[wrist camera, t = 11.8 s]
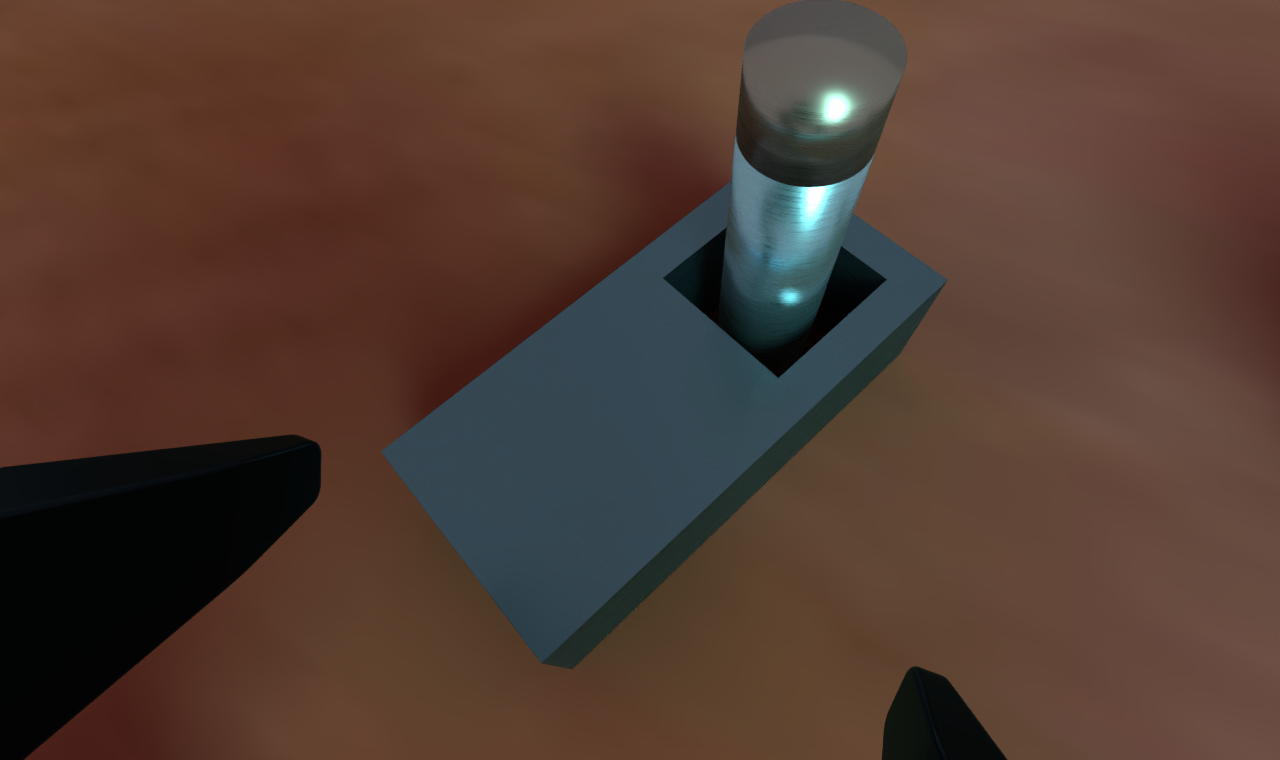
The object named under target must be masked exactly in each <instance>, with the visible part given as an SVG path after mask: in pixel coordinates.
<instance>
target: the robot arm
mask: <svg viewBox="0 0 1280 760" xmlns="http://www.w3.org/2000/svg"><path fill="white" fill-rule="evenodd" d="M320 487H321V449H320V446H319V445H318V444H317V443H316V442H315V441H312V440H309V439H307V438H304V437H301V436H298V435H284V436H275V437H266V438H257V439H248V440H239V441H231V442H222V443H213V444H204V445H195V446H186V447H178V448H169V449H160V450H151V451H142V452H133V453H124V454H116V455H107V456H98V457H89V458H80V459H71V460H63V461H54V462H45V463H36V464H27V465H18V466H10V467H2V468H0V760H24V759H25V758H26V757H27V756H29V755H30V754H31V753H32V752H33V751H35V750H36V749H37V748H38V747H39V746H40V745H42V744H43V743H44V742H45V741H46V740H48V739H49V738H50V737H51V736H52V735H53V734H55V733H56V732H57V731H58V730H59V729H61V728H62V727H63V726H64V725H65V724H67V723H68V722H69V721H70V720H71V719H72V718H74V717H75V716H76V715H77V714H78V713H80V712H81V711H82V710H83V709H84V708H85V707H87V706H88V705H89V704H90V703H91V702H93V701H94V700H95V699H96V698H97V697H99V696H100V695H101V694H102V693H103V692H104V691H106V690H107V689H108V688H109V687H110V686H112V685H113V684H114V683H115V682H116V681H117V680H119V679H120V678H121V677H122V676H123V675H125V674H126V673H127V672H128V671H129V670H131V669H132V668H133V667H134V666H135V665H136V664H138V663H139V662H140V661H141V660H142V659H144V658H145V657H146V656H147V655H148V654H149V653H151V652H152V651H153V650H154V649H155V648H157V647H158V646H159V645H160V644H161V643H163V642H164V641H165V640H166V639H167V638H168V637H170V636H171V635H172V634H173V633H174V632H176V631H177V630H178V629H179V628H180V627H181V626H183V625H184V624H185V623H186V622H187V621H189V620H190V619H191V618H192V617H193V616H195V615H196V614H197V613H198V612H199V611H200V610H202V609H203V608H204V607H205V606H206V605H208V604H209V603H210V602H211V601H212V600H214V599H215V598H216V597H217V596H218V595H219V594H221V593H222V592H223V591H224V590H225V589H227V588H228V587H229V586H230V585H231V584H232V583H233V582H235V581H236V580H237V579H238V578H239V577H240V576H241V575H242V574H243V573H245V572H246V571H247V570H248V569H249V568H250V567H251V566H252V565H253V564H254V563H255V562H256V561H257V560H258V559H259V558H260V557H261V556H262V555H263V554H264V553H265V552H266V551H267V550H268V549H269V548H270V547H271V546H272V545H273V544H274V543H275V542H276V541H277V540H278V539H279V538H280V537H281V536H282V535H283V534H284V533H285V532H286V531H287V530H288V529H289V528H290V527H291V526H292V525H293V524H294V523H295V522H296V521H297V520H298V519H299V517H300V516H301V515H302V514H303V513H304V512H305V511H306V510H307V509H308V508H309V507H310V506H311V505H312V504H313V503H314V502H315V500H316V499H317V497H318V495H319V492H320ZM882 760H1007V758H1006V757H1005V756H1004V754H1003V753H1002V752H1001V750H1000V749H999V748H998V746H997V745H996V744H995V742H994V741H993V740H992V738H991V737H990V736H989V734H988V733H987V731H986V730H985V729H984V727H983V726H982V725H981V723H980V722H979V721H978V719H977V718H976V717H975V715H974V714H973V713H972V711H971V710H970V709H969V707H968V706H967V705H966V703H965V702H964V700H963V699H962V698H961V696H960V695H959V694H958V692H957V691H956V690H955V688H954V687H953V686H952V684H951V683H950V682H949V681H948V680H947V678H945V677H944V676H942V675H939V674H936V673H934V672H931V671H928V670H926V669H923V668H920V667H917V666H914V667H911V668H910V669H909V670H908V671H907V673H906V675H905V677H904V679H903V681H902V683H901V685H900V687H899V690H898V692H897V694H896V696H895V698H894V700H893V702H892V705H891V707H890V709H889V711H888V714H887V717H886V721H885V726H884V735H883V750H882Z"/></svg>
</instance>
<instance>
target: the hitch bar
mask: <svg viewBox="0 0 1280 760" xmlns="http://www.w3.org/2000/svg"><path fill="white" fill-rule="evenodd" d="M730 188H731V182H729V183H728V184H727V185H725V186H724V187H723V188H721V189H720V190H719V191H718V192H716V193H715V194H714V195H712V196H711V197H710V198H709V199H707V200H706V201H705V202H703V203H702V204H701V205H699V206H698V207H697V208H696V209H694V210H693V211H692V212H690V213H689V214H688V215H687V216H685V217H684V218H683V219H681V220H680V221H679V222H677V223H676V224H675V225H674V226H672V227H671V228H670V229H668V230H667V231H666V232H664V233H663V234H662V235H661V236H659V237H658V238H657V239H655V240H654V241H653V242H652V243H650V244H649V245H648V246H646V247H645V248H644V249H642V250H641V251H640V252H639V253H637V254H636V255H635V256H633V257H632V258H631V259H630V260H628V261H627V262H626V263H624V264H623V265H622V266H620V267H619V268H618V269H617V270H615V271H614V272H613V273H611V274H610V275H609V276H608V277H606V278H605V279H604V280H602V281H601V282H600V283H598V284H597V285H596V286H595V287H593V288H592V289H591V290H589V291H588V292H587V293H586V294H584V295H583V296H582V297H580V298H579V299H578V300H576V301H575V302H574V303H573V304H571V305H570V306H569V307H567V308H566V309H565V310H563V311H562V312H561V313H560V314H558V315H557V316H556V317H554V318H553V319H552V320H551V321H549V322H548V323H547V324H545V325H544V326H543V327H541V328H540V329H539V330H538V331H536V332H535V333H534V334H532V335H531V336H530V337H529V338H527V339H526V340H525V341H523V342H522V343H521V344H519V345H518V346H517V347H516V348H514V349H513V350H512V351H510V352H509V353H508V354H507V355H505V356H504V357H503V358H501V359H500V360H499V361H497V362H496V363H495V364H494V365H492V366H491V367H490V368H488V369H487V370H486V371H485V372H483V373H482V374H481V375H479V376H478V377H477V378H475V379H474V380H473V381H472V382H470V383H469V384H468V385H466V386H465V387H464V388H463V389H461V390H460V391H459V392H457V393H456V394H455V395H453V396H452V397H451V398H450V399H448V400H447V401H446V402H444V403H443V404H442V405H440V406H439V407H438V408H437V409H435V410H434V411H433V412H431V413H430V414H429V415H428V416H426V417H425V418H424V419H422V420H421V421H420V422H418V423H417V424H416V425H415V426H413V427H412V428H411V429H409V430H408V431H407V432H406V433H404V434H403V435H402V436H400V437H399V438H398V439H396V440H395V441H394V442H393V443H391V444H390V445H389V446H387V447H386V448H385V449H384V450H382V451H381V452H382V454H383V455H384V456H385V458H386V459H387V460H388V462H389V463H390V464H391V466H392V467H393V468H394V470H395V471H396V472H397V474H398V475H399V476H400V478H401V479H402V480H403V481H404V483H405V484H406V485H407V487H408V488H409V489H410V491H411V492H412V493H413V495H414V496H415V497H416V499H417V500H418V501H419V503H420V504H421V505H422V506H423V508H424V509H425V510H426V512H427V513H428V514H429V516H430V517H431V518H432V520H433V521H434V522H435V524H436V525H437V526H438V528H439V529H440V530H441V532H442V533H443V534H444V535H445V537H446V538H447V539H448V541H449V542H450V543H451V545H452V546H453V547H454V549H455V550H456V551H457V553H458V554H459V555H460V557H461V558H462V559H463V561H464V562H465V563H466V564H467V566H468V567H469V568H470V570H471V571H472V572H473V574H474V575H475V576H476V578H477V579H478V580H479V582H480V583H481V584H482V586H483V587H484V588H485V589H486V591H487V592H488V593H489V595H490V596H491V597H492V599H493V600H494V601H495V603H496V604H497V605H498V607H499V608H500V609H501V611H502V612H503V613H504V615H505V616H506V617H507V618H508V620H509V621H510V622H511V624H512V625H513V626H514V628H515V629H516V630H517V632H518V633H519V634H520V636H521V637H522V638H523V640H524V641H525V642H526V644H527V645H528V646H529V647H530V649H531V650H532V651H533V653H534V654H535V655H536V657H537V658H538V659H539V661H540V662H541V663H543V664H548V665H553V666H559V667H564V668H569V669H573V668H574V667H575V666H576V665H577V664H578V663H579V662H580V661H581V660H582V659H583V658H584V657H585V656H586V655H587V654H588V653H589V652H590V651H591V650H592V649H593V648H594V647H596V646H597V645H598V644H599V643H600V642H601V641H602V640H603V639H604V638H605V637H606V636H607V635H608V634H609V633H610V632H611V631H612V630H613V629H614V628H615V627H616V626H617V625H618V624H619V623H620V622H622V621H623V620H624V619H625V618H626V617H627V616H628V615H629V614H630V613H631V612H632V611H633V610H634V609H635V608H636V607H637V606H638V605H639V604H640V603H641V602H642V601H643V600H644V599H645V598H646V597H648V596H649V595H650V594H651V593H652V592H653V591H654V590H655V589H656V588H657V587H658V586H659V585H660V584H661V583H662V582H663V581H664V580H665V579H666V578H667V577H668V576H669V575H670V574H671V573H672V572H674V571H675V570H676V569H677V568H678V567H679V566H680V565H681V564H682V563H683V562H684V561H685V560H686V559H687V558H688V557H689V556H690V555H691V554H692V553H693V552H694V551H695V550H696V549H697V548H698V547H700V546H701V545H702V544H703V543H704V542H705V541H706V540H707V539H708V538H709V537H710V536H711V535H712V534H713V533H714V532H715V531H716V530H717V529H718V528H719V527H720V526H721V525H722V524H723V523H724V522H726V521H727V520H728V519H729V518H730V517H731V516H732V515H733V514H734V513H735V512H736V511H737V510H738V509H739V508H740V507H741V506H742V505H743V504H744V503H745V502H746V501H747V500H748V499H749V498H750V497H752V496H753V495H754V494H755V493H756V492H757V491H758V490H759V489H760V488H761V487H762V486H763V485H764V484H765V483H766V482H767V481H768V480H769V479H770V478H771V477H772V476H773V475H774V474H775V473H776V472H778V471H779V470H780V469H781V468H782V467H783V466H784V465H785V464H786V463H787V462H788V461H789V460H790V459H791V458H792V457H793V456H794V455H795V454H796V453H797V452H798V451H799V450H800V449H801V448H802V447H804V446H805V445H806V444H807V443H808V442H809V441H810V440H811V439H812V438H813V437H814V436H815V435H816V434H817V433H818V432H819V431H820V430H821V429H822V428H823V427H824V426H825V425H826V424H827V423H828V422H829V421H831V420H832V419H833V418H834V417H835V416H836V415H837V414H838V413H839V412H840V411H841V410H842V409H843V408H844V407H845V406H846V405H847V404H848V403H849V402H850V401H851V400H852V399H853V398H854V397H855V396H857V395H858V394H859V393H860V392H861V391H862V390H863V389H864V388H865V387H866V386H867V385H868V384H869V383H870V382H871V381H872V380H873V379H874V378H875V377H876V376H877V375H878V374H879V373H880V372H881V371H883V370H884V369H885V368H886V367H887V366H888V365H889V364H890V363H891V362H892V361H893V360H894V359H895V358H896V357H897V356H898V355H899V354H900V353H901V351H902V350H903V348H904V347H905V345H906V344H907V342H908V340H909V339H910V337H911V336H912V334H913V333H914V331H915V330H916V328H917V327H918V325H919V323H920V322H921V320H922V319H923V317H924V316H925V314H926V313H927V311H928V310H929V308H930V306H931V305H932V303H933V302H934V300H935V299H936V297H937V296H938V294H939V293H940V291H941V289H942V288H943V286H944V285H945V283H946V282H947V279H946V278H944V277H943V276H941V275H940V274H938V273H937V272H936V271H934V270H933V269H931V268H930V267H929V266H927V265H926V264H924V263H923V262H921V261H920V260H919V259H917V258H916V257H914V256H913V255H911V254H910V253H909V252H907V251H906V250H904V249H903V248H901V247H900V246H899V245H897V244H896V243H894V242H893V241H892V240H890V239H889V238H887V237H886V236H884V235H883V234H882V233H880V232H879V231H877V230H876V229H874V228H873V227H872V226H870V225H869V224H867V223H866V222H865V221H863V220H862V219H860V218H859V217H857V216H856V215H855V214H852V217H851V220H850V223H849V225H848V228H847V231H846V234H845V236H844V239H843V242H842V245H841V248H840V250H839V253H838V256H837V259H836V261H835V264H834V267H833V270H832V273H831V275H830V278H829V281H828V284H827V286H826V289H825V292H824V295H823V298H822V300H821V303H820V306H819V309H818V311H817V314H816V317H815V320H814V324H815V325H816V326H817V327H818V328H820V329H821V330H822V331H823V332H825V333H826V334H827V335H825V336H824V337H823V338H822V339H821V340H820V341H819V342H818V343H817V344H816V345H814V346H813V347H812V348H811V349H810V350H809V351H808V352H807V353H806V354H805V355H803V356H802V357H801V358H800V359H799V360H798V361H797V362H796V363H795V364H794V365H792V366H791V367H790V368H789V369H788V370H787V371H786V372H785V373H784V374H783V375H781V376H780V377H779V378H778V377H776V376H775V375H774V374H773V373H772V372H771V371H769V370H768V369H767V368H766V367H765V366H764V365H763V364H761V363H760V362H759V361H758V360H757V359H756V358H754V357H753V356H752V355H751V354H750V353H749V352H748V351H746V350H745V349H744V348H743V347H742V346H741V345H739V344H738V343H737V342H736V341H735V340H734V339H733V338H731V337H730V336H729V335H728V334H727V333H726V332H724V331H723V330H722V329H721V328H720V327H719V326H718V325H716V324H715V323H714V322H713V321H712V320H711V319H709V318H708V317H707V316H708V315H709V314H710V313H711V312H713V311H714V310H715V309H716V308H717V307H719V302H720V292H721V281H722V271H723V261H724V250H725V240H726V229H727V219H728V209H729V198H730Z"/></svg>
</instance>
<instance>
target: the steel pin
mask: <svg viewBox="0 0 1280 760" xmlns="http://www.w3.org/2000/svg"><path fill="white" fill-rule="evenodd" d="M906 63H907V49H906V45H905V42H904V40H903V38H902V36H901V34H900V33H899V32H898V30H897V29H896V28H895V27H894V26H893V25H892V24H891V23H890V22H889V21H888V20H887V19H885V18H884V17H883V16H881V15H879V14H878V13H876V12H874V11H872V10H870V9H868V8H866V7H863V6H860V5H857V4H854V3H850V2H845V1H840V0H805V1H798V2H794V3H790V4H787V5H784V6H782V7H779V8H777V9H775V10H773V11H771V12H769V13H768V14H766V15H765V16H763V17H762V18H761V19H760V20H759V21H758V22H757V23H756V24H755V25H754V26H753V27H752V29H751V30H750V32H749V33H748V36H747V38H746V41H745V45H744V53H743V64H742V74H741V84H740V95H739V105H738V116H737V126H736V136H735V147H734V157H733V167H732V178H731V188H730V198H729V209H728V219H727V229H726V240H725V250H724V261H723V271H722V281H721V292H720V302H719V312H718V323H717V325H718V326H719V327H720V328H721V329H722V330H723V331H724V332H726V333H727V334H728V335H729V336H730V337H731V338H733V339H734V340H735V341H736V342H737V343H738V344H739V345H741V346H742V347H743V348H744V349H745V350H746V351H748V352H749V353H750V354H751V355H752V356H753V357H754V358H756V359H757V360H758V361H759V362H760V363H761V364H763V365H764V366H765V367H766V368H767V369H768V370H769V371H771V372H772V373H773V374H774V375H775V376H776V377H778V378H779V377H780V376H781V375H783V374H784V373H785V372H786V371H787V370H788V369H789V368H790V367H791V366H792V365H794V364H795V363H796V362H797V361H798V360H799V359H800V358H801V356H802V353H803V350H804V348H805V345H806V342H807V339H808V336H809V334H810V331H811V328H812V325H813V323H814V320H815V317H816V314H817V311H818V309H819V306H820V303H821V300H822V298H823V295H824V292H825V289H826V286H827V284H828V281H829V278H830V275H831V273H832V270H833V267H834V264H835V261H836V259H837V256H838V253H839V250H840V248H841V245H842V242H843V239H844V236H845V234H846V231H847V228H848V225H849V223H850V220H851V217H852V214H853V212H854V209H855V206H856V203H857V200H858V198H859V195H860V192H861V189H862V187H863V184H864V181H865V178H866V175H867V173H868V170H869V167H870V164H871V162H872V159H873V156H874V153H875V150H876V148H877V145H878V142H879V139H880V137H881V134H882V131H883V128H884V125H885V123H886V120H887V117H888V114H889V112H890V109H891V106H892V103H893V100H894V98H895V95H896V92H897V89H898V87H899V84H900V81H901V78H902V75H903V73H904V70H905V67H906Z"/></svg>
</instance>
